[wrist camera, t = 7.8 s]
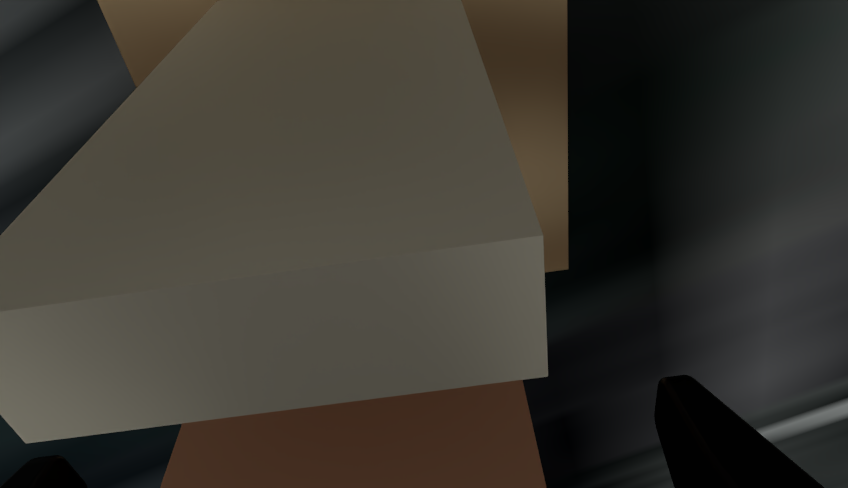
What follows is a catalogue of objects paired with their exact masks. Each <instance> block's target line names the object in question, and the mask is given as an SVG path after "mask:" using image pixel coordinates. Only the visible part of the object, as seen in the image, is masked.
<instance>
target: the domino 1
mask: <svg viewBox="0 0 848 488" xmlns="http://www.w3.org/2000/svg"><path fill="white" fill-rule="evenodd" d="M540 377H548V359H547V330H546V301H545V272H544V243H543V233H542V230H541V227H540V224H539V222H538V219H537V216H536V213H535V210H534V207H533V204H532V202H531V199H530V196H529V193H528V190H527V187H526V184H525V182H524V179H523V176H522V173H521V170H520V167H519V164H518V161H517V159H516V156H515V153H514V150H513V147H512V144H511V141H510V139H509V136H508V133H507V130H506V127H505V124H504V121H503V119H502V116H501V113H500V110H499V107H498V104H497V101H496V98H495V96H494V93H493V90H492V87H491V84H490V81H489V78H488V76H487V73H486V70H485V67H484V64H483V61H482V58H481V56H480V53H479V50H478V47H477V44H476V41H475V38H474V35H473V33H472V30H471V27H470V24H469V21H468V18H467V15H466V13H465V10H464V7H463V4H462V1H461V0H218V1H217V2H216V3H215V4H214V5H213V6H212V7H211V8H210V9H209V10H208V11H207V12H206V14H205V15H204V16H203V17H202V18H201V19H200V20H199V21H198V22H197V23H196V24H195V25H194V27H193V28H192V29H191V30H190V31H189V32H188V33H187V34H186V35H185V36H184V37H183V38H182V40H181V41H180V42H179V43H178V44H177V45H176V46H175V47H174V48H173V49H172V50H171V51H170V53H169V54H168V55H167V56H166V57H165V58H164V59H163V60H162V61H161V62H160V63H159V64H158V65H157V67H156V68H155V69H154V70H153V71H152V72H151V73H150V74H149V75H148V76H147V77H146V78H145V80H144V81H143V82H142V83H141V84H140V85H139V86H138V87H137V88H136V89H135V90H134V91H133V93H132V94H131V95H130V96H129V97H128V98H127V99H126V100H125V101H124V102H123V103H122V104H121V106H120V107H119V108H118V109H117V110H116V111H115V112H114V113H113V114H112V115H111V116H110V117H109V119H108V120H107V121H106V122H105V123H104V124H103V125H102V126H101V127H100V128H99V129H98V130H97V132H96V133H95V134H94V135H93V136H92V137H91V138H90V139H89V140H88V141H87V142H86V143H85V144H84V146H83V147H82V148H81V149H80V150H79V151H78V152H77V153H76V154H75V155H74V156H73V157H72V159H71V160H70V161H69V162H68V163H67V164H66V165H65V166H64V167H63V168H62V169H61V170H60V172H59V173H58V174H57V175H56V176H55V177H54V178H53V179H52V180H51V181H50V182H49V183H48V185H47V186H46V187H45V188H44V189H43V190H42V191H41V192H40V193H39V194H38V195H37V196H36V198H35V199H34V200H33V201H32V202H31V203H30V204H29V205H28V206H27V207H26V208H25V209H24V210H23V212H22V213H21V214H20V215H19V216H18V217H17V218H16V219H15V220H14V221H13V222H12V223H11V225H10V226H9V227H8V228H7V229H6V230H5V231H4V232H3V233H2V234H1V235H0V415H1V416H2V417H3V418H4V419H5V420H6V422H7V423H8V424H9V425H10V426H11V427H12V428H13V429H14V431H15V432H16V433H17V434H18V435H19V436H20V437H21V439H22V440H23V441H24V442H25V443H34V442H41V441H49V440H57V439H65V438H73V437H80V436H88V435H96V434H104V433H112V432H119V431H127V430H135V429H143V428H150V427H158V426H166V425H174V424H182V423H189V422H197V421H205V420H213V419H221V418H228V417H236V416H244V415H252V414H259V413H267V412H275V411H283V410H291V409H298V408H306V407H314V406H322V405H330V404H337V403H345V402H353V401H361V400H369V399H376V398H384V397H392V396H400V395H407V394H415V393H423V392H431V391H439V390H446V389H454V388H462V387H470V386H478V385H485V384H493V383H501V382H509V381H516V380H524V379H532V378H540Z"/></svg>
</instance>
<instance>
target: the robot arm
mask: <svg viewBox="0 0 848 488" xmlns="http://www.w3.org/2000/svg"><path fill="white" fill-rule="evenodd" d="M654 415H655V424H656V428H657V432H658V435H659V438H660V442H661V445H662V448H663V452H664V455H665V458H666V461H667V465H668V468H669V471H670V474H671V478H672V481H673V484H674V487H675V488H824V487H823V486H822V485H820V484H819V483H818V482H817V481H816V480H815V479H813V478H812V477H811V476H810V475H809V474H807V473H806V472H805V471H804V470H803V469H801V468H800V467H799V466H798V465H797V464H795V463H794V462H793V461H792V460H791V459H789V458H788V457H787V456H786V455H785V454H784V453H782V452H781V451H780V450H779V449H778V448H776V447H775V446H774V445H773V444H772V443H770V442H769V441H768V440H767V439H766V438H764V437H763V436H762V435H761V434H760V433H758V432H757V431H756V430H755V429H754V428H753V427H751V426H750V425H749V424H748V423H747V422H745V421H744V420H743V419H742V418H741V417H739V416H738V415H737V414H736V413H735V412H733V411H732V410H731V409H730V408H729V407H727V406H726V405H725V404H724V403H723V402H721V401H720V400H719V399H718V398H717V397H716V396H714V395H713V394H712V393H711V392H710V391H708V390H707V389H706V388H705V387H704V386H702V385H701V384H700V383H699V382H698V381H696V380H695V379H694V378H692V377H691V376H688V375H680V376H672V377H665V378H662V379H661V380H660V381H659V384H658V390H657V398H656V405H655V414H654ZM0 488H87V485H86V483H85V482H84V480H83V479H82V478H81V477H80V476H79V474H78V473H77V472H76V471H75V470H74V469H73V467H72V466H71V465H70V464H69V463H68V461H67V460H66V459H65V458H63V457H62V456H59V455H53V456H45V457H38V458H34V459H31V460H30V461H28V462H27V463H26V464H24V465H23V466H22V467H21V468H20V469H19V470H18V471H17V472H16V473H14V474H13V475H12V476H11V477H10V478H9V479H8V480H7V481H6V482H5V483H4V484H3V485H2V486H0Z"/></svg>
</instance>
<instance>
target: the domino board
mask: <svg viewBox="0 0 848 488" xmlns="http://www.w3.org/2000/svg"><path fill="white" fill-rule="evenodd" d="M97 1H98V3H99V5H100V8H101V10H102V12H103V14H104V17H105V19H106V21H107V23H108V25H109V28H110V30H111V32H112V34H113V37H114V39H115V41H116V43H117V46H118V48H119V50H120V52H121V55H122V57H123V59H124V61H125V63H126V66H127V68H128V70H129V72H130V75H131V77H132V79H133V81H134V84H135V86H136V88H137V87H138V86H139V85H140V84H141V83H142V82H143V81H144V80H145V78H146V77H147V76H148V75H149V74H150V73H151V72H152V71H153V70H154V69H155V68H156V67H157V65H158V64H159V63H160V62H161V61H162V60H163V59H164V58H165V57H166V56H167V55H168V54H169V53H170V51H171V50H172V49H173V48H174V47H175V46H176V45H177V44H178V43H179V42H180V41H181V40H182V38H183V37H184V36H185V35H186V34H187V33H188V32H189V31H190V30H191V29H192V28H193V27H194V25H195V24H196V23H197V22H198V21H199V20H200V19H201V18H202V17H203V16H204V15H205V14H206V12H207V11H208V10H209V9H210V8H211V7H212V6H213V5H214V4H215V3H216V2H217V1H218V0H97ZM461 1H462V4H463V7H464V10H465V13H466V15H467V18H468V21H469V24H470V27H471V30H472V33H473V35H474V38H475V41H476V44H477V47H478V50H479V53H480V56H481V58H482V61H483V64H484V67H485V70H486V73H487V76H488V78H489V81H490V84H491V87H492V90H493V93H494V96H495V98H496V101H497V104H498V107H499V110H500V113H501V116H502V119H503V121H504V124H505V127H506V130H507V133H508V136H509V139H510V141H511V144H512V147H513V150H514V153H515V156H516V159H517V161H518V164H519V167H520V170H521V173H522V176H523V179H524V182H525V184H526V187H527V190H528V193H529V196H530V199H531V202H532V204H533V207H534V210H535V213H536V216H537V219H538V222H539V224H540V227H541V230H542V233H543V243H544V272H551V271H559V270H566V269H568V86H567V0H461Z"/></svg>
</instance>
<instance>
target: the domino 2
mask: <svg viewBox="0 0 848 488" xmlns="http://www.w3.org/2000/svg"><path fill="white" fill-rule="evenodd" d="M160 488H546V483H545V479H544V474H543V470H542V466H541V461H540V457H539V452H538V448H537V443H536V439H535V434H534V430H533V425H532V421H531V416H530V412H529V408H528V403H527V399H526V394H525V390H524V385H523V381H522V380H516V381H509V382H501V383H493V384H485V385H478V386H470V387H462V388H454V389H446V390H439V391H431V392H423V393H415V394H407V395H400V396H392V397H384V398H376V399H369V400H361V401H353V402H345V403H337V404H330V405H322V406H314V407H306V408H298V409H291V410H283V411H275V412H267V413H259V414H252V415H244V416H236V417H228V418H221V419H213V420H205V421H197V422H189V423H182V426H181V429H180V432H179V435H178V438H177V440H176V443H175V446H174V449H173V452H172V455H171V458H170V461H169V464H168V467H167V469H166V472H165V475H164V478H163V481H162V484H161V487H160Z"/></svg>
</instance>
